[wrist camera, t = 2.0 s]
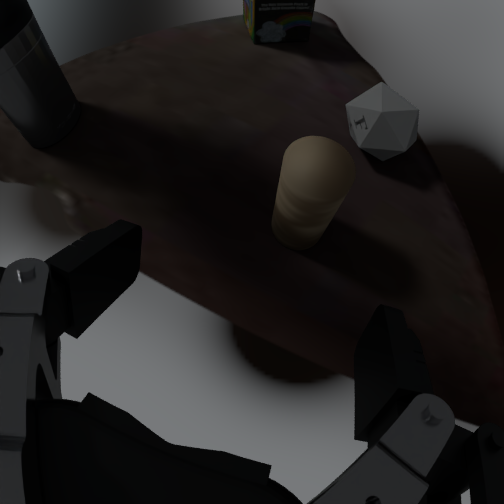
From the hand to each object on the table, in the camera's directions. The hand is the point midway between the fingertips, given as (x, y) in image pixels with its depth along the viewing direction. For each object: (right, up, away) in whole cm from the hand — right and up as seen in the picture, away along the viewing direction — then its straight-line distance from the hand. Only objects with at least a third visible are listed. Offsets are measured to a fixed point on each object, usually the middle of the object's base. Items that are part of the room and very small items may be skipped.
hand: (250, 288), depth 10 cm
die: (+15, +14, +26) cm, 33 cm away
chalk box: (+4, +37, +33) cm, 50 cm away
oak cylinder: (+5, +4, +22) cm, 23 cm away
